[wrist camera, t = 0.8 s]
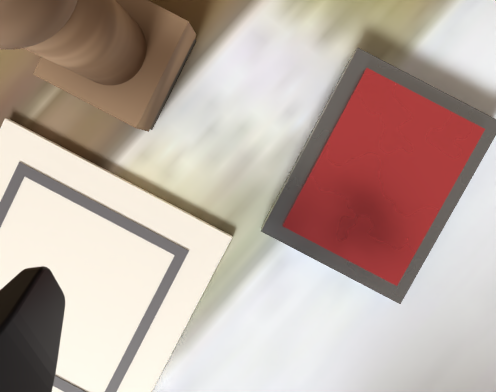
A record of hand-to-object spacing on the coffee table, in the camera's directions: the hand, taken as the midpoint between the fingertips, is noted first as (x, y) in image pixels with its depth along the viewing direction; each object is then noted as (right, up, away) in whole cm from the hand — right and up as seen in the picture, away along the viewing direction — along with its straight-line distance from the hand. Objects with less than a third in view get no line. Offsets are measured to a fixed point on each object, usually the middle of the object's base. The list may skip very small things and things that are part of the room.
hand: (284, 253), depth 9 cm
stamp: (-6, +7, +13) cm, 16 cm away
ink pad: (+5, +2, +13) cm, 14 cm away
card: (-10, -3, +14) cm, 17 cm away
